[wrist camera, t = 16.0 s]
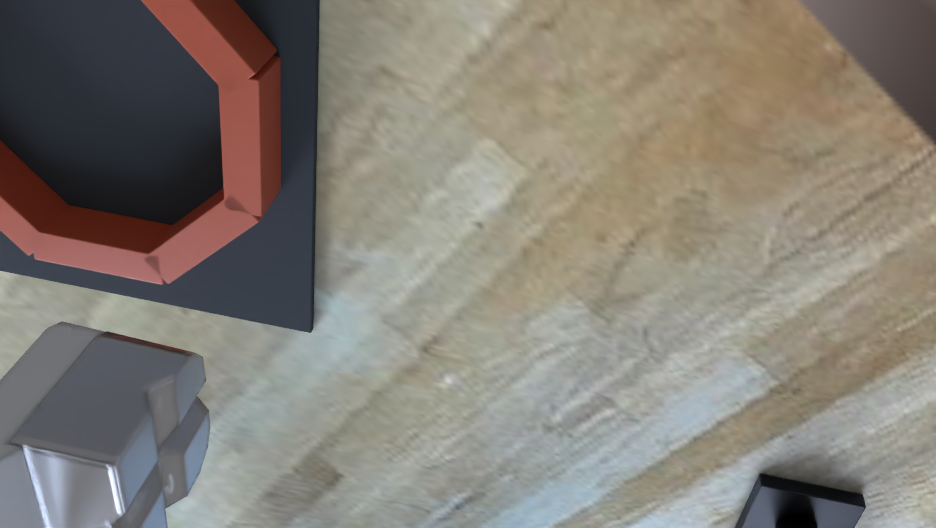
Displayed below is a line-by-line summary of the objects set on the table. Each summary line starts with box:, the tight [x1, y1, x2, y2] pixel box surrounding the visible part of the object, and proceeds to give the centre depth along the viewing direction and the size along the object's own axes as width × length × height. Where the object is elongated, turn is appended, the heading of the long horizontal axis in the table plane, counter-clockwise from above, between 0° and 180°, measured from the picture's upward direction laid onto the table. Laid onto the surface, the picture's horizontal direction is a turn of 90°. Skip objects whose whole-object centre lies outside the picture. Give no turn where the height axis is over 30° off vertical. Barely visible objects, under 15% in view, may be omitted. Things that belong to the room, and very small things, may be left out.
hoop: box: [0, 0, 281, 285], centre depth 34 cm, size 21×15×4 cm
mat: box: [0, 0, 319, 333], centre depth 37 cm, size 22×18×1 cm
